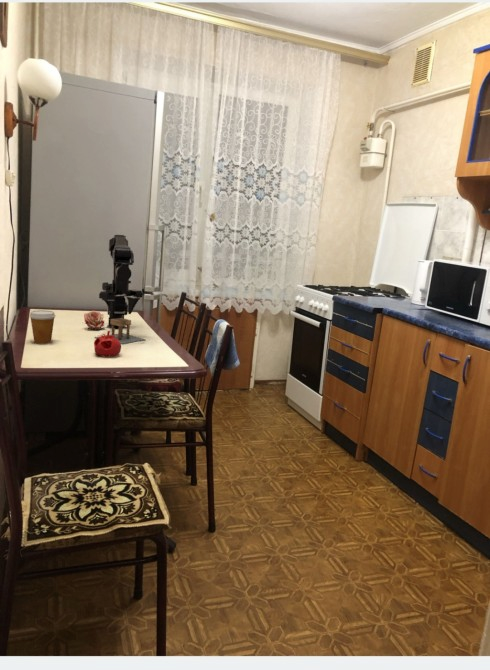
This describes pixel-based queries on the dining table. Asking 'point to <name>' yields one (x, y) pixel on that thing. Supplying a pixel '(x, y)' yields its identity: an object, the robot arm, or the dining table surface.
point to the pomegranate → (107, 345)
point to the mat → (125, 341)
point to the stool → (120, 326)
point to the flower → (94, 319)
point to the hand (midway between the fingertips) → (121, 314)
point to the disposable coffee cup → (42, 325)
